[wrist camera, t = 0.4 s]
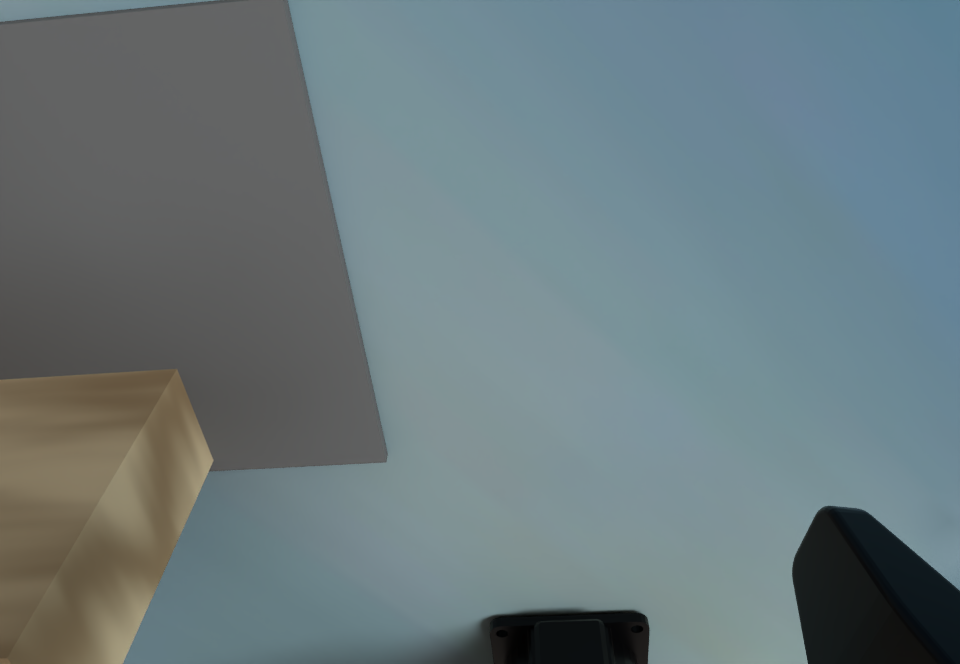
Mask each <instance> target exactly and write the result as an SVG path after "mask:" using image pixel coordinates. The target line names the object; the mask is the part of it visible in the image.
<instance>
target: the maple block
mask: <svg viewBox="0 0 960 664" xmlns="http://www.w3.org/2000/svg"><path fill="white" fill-rule="evenodd" d="M213 461H214V460H213V458H212V455H211V453H210V450H209V448H208V445H207V443H206V440H205V438H204V435H203V433H202V430H201V428H200V425H199V423H198V420H197V418H196V415H195V413H194V410H193V408H192V405H191V403H190V400H189V398H188V395H187V393H186V390H185V388H184V385H183V383H182V380H181V378H180V375H179V373H178V370H177V369H167V370H151V371H135V372H119V373H102V374H86V375H70V376H54V377H37V378H21V379H5V380H0V664H123V662H124V659H125V657H126V655H127V653H128V651H129V648H130V646H131V644H132V642H133V639H134V637H135V635H136V633H137V630H138V628H139V626H140V624H141V622H142V619H143V617H144V615H145V613H146V610H147V608H148V606H149V604H150V601H151V599H152V597H153V595H154V592H155V590H156V588H157V586H158V584H159V581H160V579H161V577H162V575H163V572H164V570H165V568H166V566H167V563H168V561H169V559H170V557H171V555H172V552H173V550H174V548H175V546H176V543H177V541H178V539H179V537H180V534H181V532H182V530H183V528H184V525H185V523H186V521H187V519H188V517H189V514H190V512H191V510H192V508H193V505H194V503H195V501H196V499H197V496H198V494H199V492H200V490H201V488H202V485H203V483H204V481H205V479H206V476H207V474H208V472H209V470H210V467H211V465H212V463H213Z"/></svg>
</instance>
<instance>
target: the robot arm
mask: <svg viewBox="0 0 960 664" xmlns="http://www.w3.org/2000/svg"><path fill="white" fill-rule="evenodd" d="M792 577H793V584H794V589H795V595H796V600H797V606H798V611H799V617H800V622H801V628H802V633H803V639H804V644H805V649H806V655H807V660H808V664H960V591H959V590H958V589H957V588H956V587H955V586H954V585H952V584H951V583H950V582H949V581H948V580H947V579H945V578H944V577H943V576H942V575H941V574H940V573H938V572H937V571H936V570H935V569H934V568H933V567H931V566H930V565H929V564H928V563H927V562H925V561H924V560H923V559H922V558H921V557H920V556H918V555H917V554H916V553H915V552H914V551H913V550H911V549H910V548H909V547H908V546H907V545H906V544H904V543H903V542H902V541H901V540H900V539H899V538H897V537H896V536H895V535H894V534H893V533H892V532H890V531H889V530H888V529H887V528H886V527H884V526H883V525H882V524H881V523H880V522H879V521H877V520H876V519H875V518H874V517H873V516H872V515H870V514H869V513H867V512H866V511H864V510H861V509H857V508H847V507H837V506H825V507H823V508H821V509H820V510H819V511H818V512H817V514H816V515H815V517H814V519H813V521H812V523H811V525H810V527H809V529H808V531H807V533H806V535H805V537H804V539H803V541H802V543H801V545H800V547H799V549H798V551H797V553H796V555H795V558H794V562H793V568H792ZM490 638H491V645H492V652H493V659H494V664H648V646H649V624H648V619H647V617H646V616H645V615H643V614H641V613H623V614H595V615H567V616H539V617H510V618H497V619H495V620H493V621H492V622H491V623H490Z"/></svg>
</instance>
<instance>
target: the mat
mask: <svg viewBox="0 0 960 664" xmlns="http://www.w3.org/2000/svg"><path fill="white" fill-rule="evenodd" d="M167 369H177V370H178V373H179V375H180V378H181V380H182V383H183V385H184V388H185V390H186V393H187V395H188V398H189V400H190V403H191V405H192V408H193V410H194V413H195V415H196V418H197V420H198V423H199V425H200V428H201V430H202V433H203V435H204V438H205V440H206V443H207V445H208V448H209V450H210V453H211V455H212V458H213V460H214V461H213V463H212V465H211V467H210V470H209V471H225V470H245V469H265V468H284V467H304V466H323V465H343V464H362V463H382V462H386V461H387V455H388V453H387V449H386V444H385V440H384V435H383V431H382V426H381V422H380V417H379V413H378V408H377V403H376V399H375V394H374V390H373V385H372V381H371V376H370V372H369V367H368V363H367V358H366V354H365V349H364V345H363V340H362V336H361V331H360V327H359V322H358V318H357V313H356V308H355V304H354V299H353V295H352V290H351V286H350V281H349V277H348V272H347V268H346V263H345V259H344V254H343V250H342V245H341V241H340V236H339V232H338V227H337V223H336V218H335V214H334V209H333V204H332V200H331V195H330V191H329V186H328V182H327V177H326V173H325V168H324V164H323V159H322V155H321V150H320V146H319V141H318V137H317V132H316V128H315V123H314V119H313V114H312V109H311V105H310V100H309V96H308V91H307V87H306V82H305V78H304V73H303V69H302V64H301V60H300V55H299V51H298V46H297V42H296V37H295V33H294V28H293V24H292V19H291V15H290V10H289V5H288V1H287V0H219V1H208V2H198V3H188V4H178V5H168V6H158V7H147V8H137V9H127V10H117V11H107V12H97V13H86V14H76V15H66V16H56V17H46V18H36V19H25V20H15V21H5V22H0V380H5V379H21V378H37V377H54V376H70V375H86V374H102V373H119V372H135V371H151V370H167Z"/></svg>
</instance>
